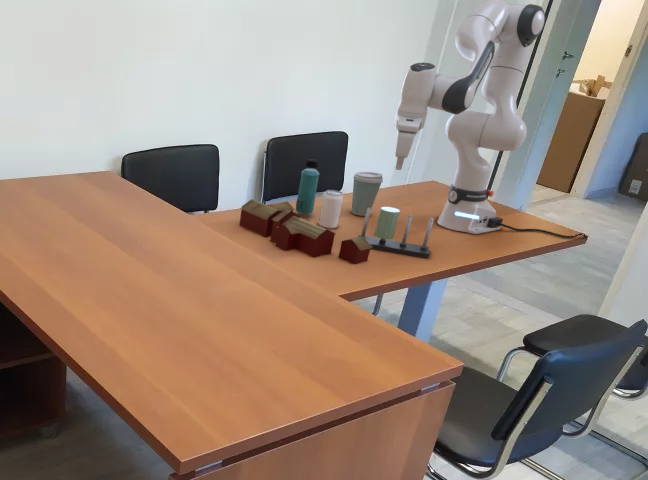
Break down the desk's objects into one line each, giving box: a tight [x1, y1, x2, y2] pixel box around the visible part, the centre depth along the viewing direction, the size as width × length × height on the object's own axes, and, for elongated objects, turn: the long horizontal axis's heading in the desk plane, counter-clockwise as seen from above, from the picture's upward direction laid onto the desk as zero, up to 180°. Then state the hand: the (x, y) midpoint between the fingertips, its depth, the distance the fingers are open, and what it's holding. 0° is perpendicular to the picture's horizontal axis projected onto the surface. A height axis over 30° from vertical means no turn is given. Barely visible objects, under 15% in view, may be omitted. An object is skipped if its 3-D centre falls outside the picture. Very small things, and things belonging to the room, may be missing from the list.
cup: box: [373, 206, 401, 240], centre depth 229 cm, size 6×6×9 cm
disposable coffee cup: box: [351, 171, 384, 217], centre depth 260 cm, size 11×11×15 cm
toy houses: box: [239, 199, 373, 265], centre depth 230 cm, size 45×20×10 cm, turn 35°
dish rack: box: [356, 208, 434, 259], centre depth 230 cm, size 23×8×12 cm, turn 69°
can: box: [318, 189, 344, 230], centre depth 246 cm, size 6×6×12 cm
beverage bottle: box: [295, 158, 320, 215], centre depth 252 cm, size 6×7×20 cm
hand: (399, 165), depth 225 cm, fingers open, 8 cm apart
